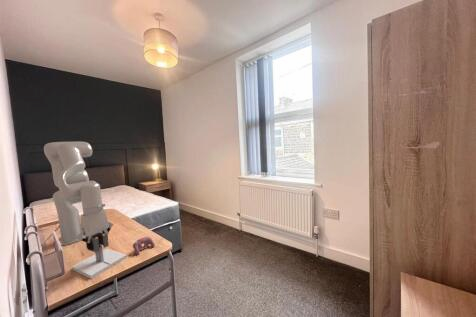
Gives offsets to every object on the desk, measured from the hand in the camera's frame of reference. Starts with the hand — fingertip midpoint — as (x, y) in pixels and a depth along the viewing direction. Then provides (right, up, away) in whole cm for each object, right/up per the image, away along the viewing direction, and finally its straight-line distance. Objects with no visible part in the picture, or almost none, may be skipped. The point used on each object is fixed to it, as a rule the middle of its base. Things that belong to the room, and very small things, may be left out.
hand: (98, 245), depth 94 cm
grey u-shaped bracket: (0, -1, 0) cm, 1 cm away
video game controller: (+16, -7, +12) cm, 21 cm away
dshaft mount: (0, -9, +1) cm, 9 cm away
